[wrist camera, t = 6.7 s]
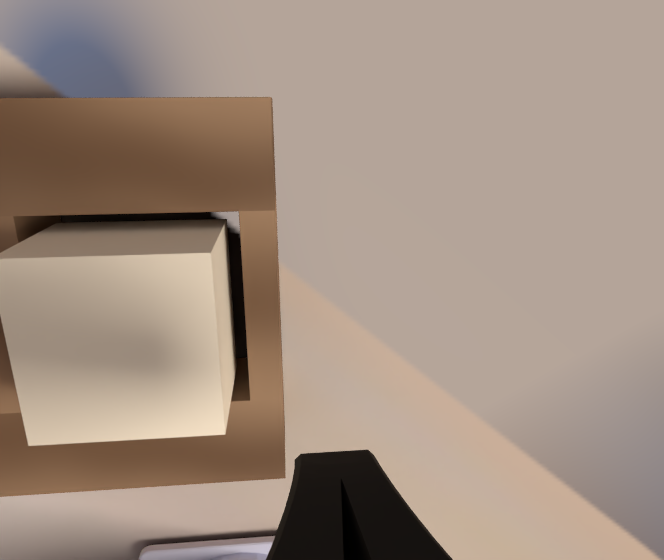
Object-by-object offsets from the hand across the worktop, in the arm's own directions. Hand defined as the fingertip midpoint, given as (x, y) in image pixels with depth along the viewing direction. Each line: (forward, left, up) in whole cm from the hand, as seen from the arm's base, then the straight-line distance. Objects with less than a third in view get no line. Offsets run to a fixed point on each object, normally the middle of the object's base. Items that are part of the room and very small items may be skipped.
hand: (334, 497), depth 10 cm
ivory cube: (+1, +5, -8) cm, 10 cm away
